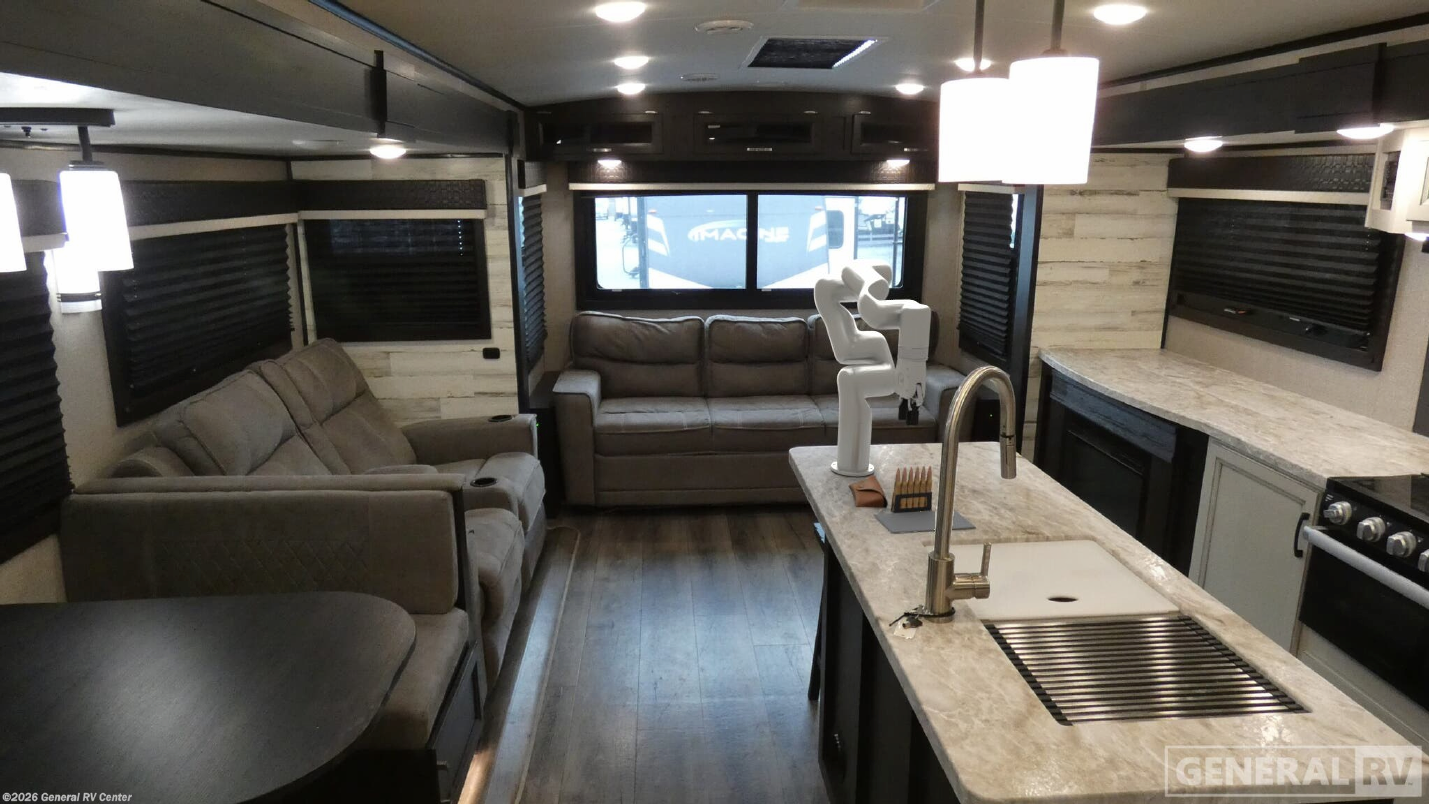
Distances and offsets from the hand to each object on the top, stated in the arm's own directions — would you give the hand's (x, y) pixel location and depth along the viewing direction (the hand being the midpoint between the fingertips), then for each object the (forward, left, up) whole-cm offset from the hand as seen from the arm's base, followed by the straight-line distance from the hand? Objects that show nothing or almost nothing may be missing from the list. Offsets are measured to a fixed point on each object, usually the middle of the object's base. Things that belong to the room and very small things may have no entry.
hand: (907, 421), depth 232 cm
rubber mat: (+14, 0, -22) cm, 26 cm away
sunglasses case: (-6, -8, -23) cm, 25 cm away
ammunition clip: (+6, 0, -23) cm, 23 cm away
